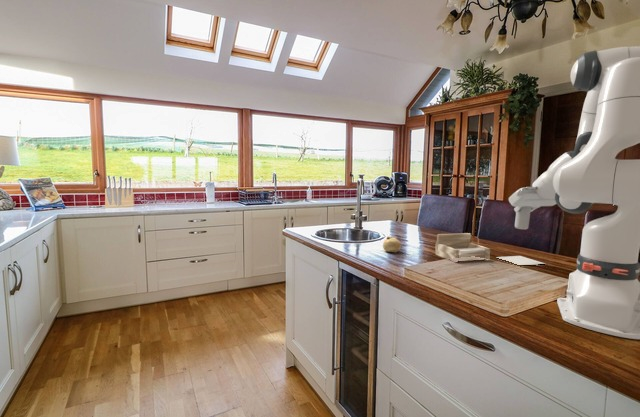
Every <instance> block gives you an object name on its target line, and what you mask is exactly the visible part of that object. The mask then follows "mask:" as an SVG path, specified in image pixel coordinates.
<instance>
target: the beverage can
mask: <svg viewBox="0 0 640 417" xmlns="http://www.w3.org/2000/svg"><path fill="white" fill-rule="evenodd" d="M521 209H522V210H521V211H520V212H515V220H514V228H515V229H517V230H528V229H529V226H530V218H531V212H530V211H531V206H523V207H521Z"/></svg>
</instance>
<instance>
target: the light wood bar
mask: <svg viewBox="0 0 640 417" xmlns="http://www.w3.org/2000/svg"><path fill="white" fill-rule="evenodd" d="M457 250H459V252H458V258H461V257H471V256H475V257H480V258H485V257H484V256H485V254H484V253H485V250H484V249H481V248H464V249H457Z"/></svg>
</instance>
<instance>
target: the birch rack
mask: <svg viewBox="0 0 640 417" xmlns="http://www.w3.org/2000/svg"><path fill="white" fill-rule="evenodd" d="M471 237H472V233H470V232H469V233H468V232H464V233H463V232H461V233H438V234H437V233H436V242H435V244H434V245H435V246H434V247H435V248H434V250H435V251H434V254H435V255H436V256H438V257H441V258H443V259H445V260H448V259H453V258H458V252H459V250H457V249H464V248H481V249H484V250H485V253H484V254H485V256H484V257H485V258H486V259H490V258H491V248H489V247H486V246H483V245H479V244H476V243H473V242H471Z"/></svg>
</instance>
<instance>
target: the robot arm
mask: <svg viewBox="0 0 640 417" xmlns="http://www.w3.org/2000/svg"><path fill="white" fill-rule="evenodd" d="M569 76H570V81H571V86H572V87H573V88H574V89H575V90H576V91H579V92H580V91H581V92H586V97H585V99H584V102H583V106H582V111H581V114H580V115H581V116H580V120H579V126H578V131H577V137H576V140H575V145H574V149H573V150H569V151H567V152H564V153H563V154H562V155H560V156H559V157H557V158H556V159H555V160H554V161H553V162H552V163H551V164H550V165H549V166H548V168H547V170H546V171H544V172H543V173H542V174H540V176H538V177H537V178H536V179H535V180H534V181H533V183H532V185H531V186H526V187H521V188H519V189H517V190H516V191H515V192H513V193H512V194H511V195H510V196H509V197H508V202H509V204H510V205H511V206H512V207H514V208H513V210H514V212H515V213H516V212H520V211H521V210H522V209H521V207H523V206H531V211H530V213H531V212H533V211H535V210H536V209H538V208H541V207H553V206H555V205H557V206H558V207H559V208H560V209H561V210H563V211H565V212H567V213H569V214H573V215H574V214H575V215H576V214H577V215H579V214H583V213H585V212H586V211H587V212H588V210H589V209H590V208H591V207H592V206H593V204H609V205H610V204H611V205H615V206H617V210H616V211H615V212H614V213H611V214H609V215H604V216H603V217H599V218H596V219H593V220H590V221H588V222H587V223H586V224H585V225H584V226H583V228H582V231H581V232H582V233H581V242H580V243H581V244H580V252H579V253H578V255H577V258H576V270H574V271H572V272H570V273H569V276H568V283H567V289H566V290H565V296H566V297H558V298H557V299H556V300H557V301H556V303H557V306H558V308H559V312H560V315H561V318H562V320H563V321H565V322H567V323H569V324H572V325H574V326H577V327H580V328H584V329H586V330H591V331H594V332H598V333H602V334H605V335H610V336H615V337H619V338H625V339H633V340H640V280H639V276H640V262H639V253H640V159H619V158H616V157H617V155H618V154H619V153H620V152H622V151H623V150H625V149H627V148H630V147H633V146H635V145H637V144H640V46H639V45H638V46H619V47H613V48H607V49H606V48H605V49H602V50H598V51H597V50H595V49H594V50H592V51H591V50H590V51H588V52H587V51H586V52H583V53H582V54H581V55H579V56H578V57H577V58H576V60H575V62H574V64H573V65H572V67H571V70H570V75H569Z"/></svg>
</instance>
